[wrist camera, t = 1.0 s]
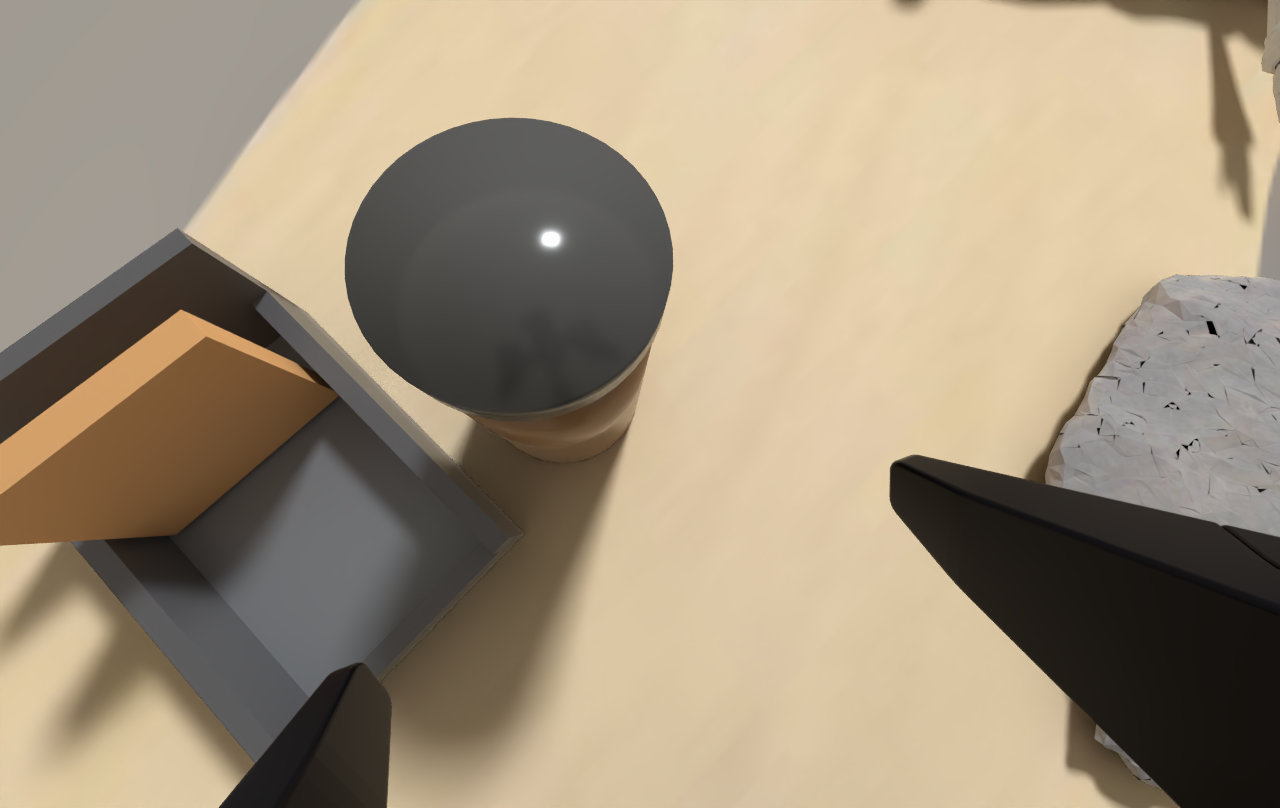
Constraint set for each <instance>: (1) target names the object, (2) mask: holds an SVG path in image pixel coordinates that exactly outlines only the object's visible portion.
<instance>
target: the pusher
mask: <svg viewBox="0 0 1280 808" xmlns="http://www.w3.org/2000/svg"><path fill="white" fill-rule="evenodd" d="M338 396H339V395H338V394H337V393H336V392H335V391H334V389H333V388H332V387H331V386H330V385H329V384H328V383H327V382H326V381H325V380H324V379H323V378H322V377H321V376H320V375H319V374H318V373H317V372H315V371H312V370H310V369H308V368H306V367H304V366H302V365H299V364H297V363H295V362H293V361H291V360H289V359H287V358H284V357H282V356H280V355H278V354H276V353H274V352H271V351H269V350H267V349H265V348H263V347H261V346H259V345H256V344H254V343H252V342H250V341H248V340H246V339H243V338H241V337H239V336H237V335H235V334H233V333H231V332H228V331H226V330H224V329H222V328H220V327H218V326H215V325H213V324H211V323H209V322H207V321H205V320H203V319H200V318H198V317H196V316H194V315H192V314H190V313H188V312H185V311H183V310H180V311H178V312H177V313H176V314H174V315H173V316H172V317H170V318H169V319H168V320H166V321H165V322H164V323H162V324H161V325H160V326H158V327H157V328H156V329H154V330H153V331H152V332H150V333H149V334H147V335H146V336H145V337H143V338H142V339H141V340H139V341H138V342H137V343H135V344H134V345H133V346H131V347H130V348H129V349H127V350H126V351H125V352H123V353H122V354H121V355H119V356H118V357H117V358H115V359H114V360H113V361H111V362H110V363H109V364H107V365H106V366H105V367H103V368H102V369H101V370H99V371H98V372H97V373H95V374H94V375H93V376H91V377H90V378H89V379H87V380H86V381H84V382H83V383H82V384H80V385H79V386H78V387H76V388H75V389H74V390H72V391H71V392H70V393H68V394H67V395H66V396H64V397H63V398H62V399H60V400H59V401H58V402H56V403H55V404H54V405H52V406H51V407H50V408H48V409H47V410H46V411H44V412H43V413H42V414H40V415H39V416H38V417H36V418H35V419H34V420H32V421H31V422H30V423H28V424H27V425H25V426H24V427H23V428H21V429H20V430H19V431H17V432H16V433H15V434H13V435H12V436H11V437H9V438H8V439H7V440H5V441H4V442H3V443H1V444H0V546H2V545H18V544H35V543H52V542H69V541H85V540H102V539H119V538H136V537H152V536H169V535H177V534H178V533H179V532H180V531H181V530H183V529H184V528H185V527H186V526H187V525H188V524H190V523H191V522H192V521H193V520H194V519H195V518H197V517H198V516H199V515H200V514H201V513H202V512H204V511H205V510H206V509H207V508H208V507H209V506H211V505H212V504H213V503H214V502H215V501H217V500H218V499H219V498H220V497H221V496H222V495H224V494H225V493H226V492H227V491H228V490H229V489H231V488H232V487H233V486H234V485H235V484H236V483H238V482H239V481H240V480H241V479H242V478H243V477H245V476H246V475H247V474H248V473H249V472H250V471H252V470H253V469H254V468H255V467H256V466H257V465H259V464H260V463H261V462H262V461H263V460H264V459H266V458H267V457H268V456H269V455H270V454H272V453H273V452H274V451H275V450H276V449H277V448H279V447H280V446H281V445H282V444H283V443H284V442H286V441H287V440H288V439H289V438H290V437H291V436H293V435H294V434H295V433H296V432H297V431H298V430H300V429H301V428H302V427H303V426H304V425H305V424H307V423H308V422H309V421H310V420H311V419H312V418H314V417H315V416H316V415H317V414H318V413H319V412H321V411H322V410H323V409H324V408H325V407H327V406H328V405H329V404H330V403H331V402H332V401H334V400H335V399H336V398H337V397H338Z"/></svg>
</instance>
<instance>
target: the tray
mask: <svg viewBox="0 0 1280 808" xmlns="http://www.w3.org/2000/svg"><path fill="white" fill-rule="evenodd" d="M180 310H183V311H185V312H188V313H190V314H192V315H194V316H196V317H198V318H200V319H203V320H205V321H207V322H209V323H211V324H213V325H215V326H218V327H220V328H222V329H224V330H226V331H228V332H231V333H233V334H235V335H237V336H239V337H241V338H243V339H246V340H248V341H250V342H252V343H254V344H256V345H259V346H261V347H263V348H265V349H267V350H269V351H271V352H274V353H276V354H278V355H280V356H282V357H284V358H287V359H289V360H291V361H293V362H295V363H297V364H299V365H302V366H304V367H306V368H308V369H310V370H312V371H315V372H317V373H318V374H319V375H320V376H321V377H322V378H323V379H324V380H325V381H326V382H327V383H328V384H329V385H330V386H331V387H332V388H333V389H334V391H335V392H336V393H337V394H338V395H339V396H338V397H337V398H336V399H335V400H334V401H332V402H331V403H330V404H329V405H328V406H327V407H325V408H324V409H323V410H322V411H321V412H319V413H318V414H317V415H316V416H315V417H314V418H312V419H311V420H310V421H309V422H308V423H307V424H305V425H304V426H303V427H302V428H301V429H300V430H298V431H297V432H296V433H295V434H294V435H293V436H291V437H290V438H289V439H288V440H287V441H286V442H284V443H283V444H282V445H281V446H280V447H279V448H277V449H276V450H275V451H274V452H273V453H272V454H270V455H269V456H268V457H267V458H266V459H264V460H263V461H262V462H261V463H260V464H259V465H257V466H256V467H255V468H254V469H253V470H252V471H250V472H249V473H248V474H247V475H246V476H245V477H243V478H242V479H241V480H240V481H239V482H238V483H236V484H235V485H234V486H233V487H232V488H231V489H229V490H228V491H227V492H226V493H225V494H224V495H222V496H221V497H220V498H219V499H218V500H217V501H215V502H214V503H213V504H212V505H211V506H209V507H208V508H207V509H206V510H205V511H204V512H202V513H201V514H200V515H199V516H198V517H197V518H195V519H194V520H193V521H192V522H191V523H190V524H188V525H187V526H186V527H185V528H184V529H183V530H181V531H180V532H179V533H178V534H177V535H169V536H152V537H136V538H119V539H102V540H85V541H70V542H71V543H72V544H73V545H74V547H75V548H76V549H77V550H78V551H79V553H80V554H81V555H82V556H83V557H84V559H85V560H86V561H87V562H88V563H89V565H90V566H91V567H92V568H93V569H94V571H95V572H96V573H97V574H98V575H99V577H100V578H101V579H102V580H103V581H104V583H105V584H106V585H107V586H108V587H109V589H110V590H111V591H112V592H113V593H114V595H115V596H116V597H117V598H118V599H119V601H120V602H121V603H122V604H123V605H124V607H125V608H126V609H127V610H128V611H129V612H130V614H131V615H132V616H133V617H134V618H135V620H136V621H137V622H138V623H139V624H140V626H141V627H142V628H143V629H144V630H145V632H146V633H147V634H148V635H149V636H150V638H151V639H152V640H153V641H154V642H155V644H156V645H157V646H158V647H159V648H160V650H161V651H162V652H163V653H164V654H165V656H166V657H167V658H168V659H169V660H170V662H171V663H172V664H173V665H174V666H175V668H176V669H177V670H178V671H179V672H180V674H181V675H182V676H183V677H184V678H185V680H186V681H187V682H188V683H189V684H190V686H191V687H192V688H193V689H194V690H195V692H196V693H197V694H198V695H199V696H200V698H201V699H202V700H203V701H204V702H205V704H206V705H207V706H208V707H209V708H210V710H211V711H212V712H213V713H214V714H215V716H216V717H217V718H218V719H219V720H220V722H221V723H222V724H223V725H224V726H225V727H226V729H227V730H228V731H229V732H230V733H231V735H232V736H233V737H234V738H235V739H236V741H237V742H238V743H239V744H240V745H241V747H242V748H243V749H244V750H245V751H246V753H247V754H248V755H249V756H250V757H251V759H252V760H253V761H254V762H255V763H256V762H257V761H258V759H259V758H260V757H261V756H262V755H263V753H264V752H265V751H266V750H267V748H268V747H269V746H270V745H271V744H272V742H273V741H274V740H275V739H276V738H277V736H278V735H279V734H280V733H281V731H282V730H283V729H284V728H285V727H286V725H287V724H288V723H289V722H290V721H291V719H292V718H293V717H294V716H295V715H296V713H297V712H298V711H299V710H300V708H301V707H302V706H303V705H304V704H305V702H306V701H307V700H308V699H309V698H310V696H311V695H312V694H313V693H314V691H315V690H316V689H317V688H318V687H319V685H320V684H321V683H322V682H323V681H324V679H325V678H326V677H327V676H328V675H329V674H330V673H332V672H333V671H335V670H338V669H340V668H343V667H346V666H348V665H351V664H354V663H358V662H361V663H364V664H366V665H367V666H368V668H369V669H370V670H371V671H372V673H373V674H374V675H375V676H376V678H377V679H378V680H379V682H381V681H382V680H383V679H384V678H385V677H386V676H387V674H388V673H389V672H390V671H391V670H392V669H393V668H394V667H395V666H396V665H397V664H398V663H399V662H400V661H401V660H402V659H403V658H404V657H405V656H406V655H407V654H408V653H409V652H410V651H411V650H412V649H413V648H414V647H415V646H416V645H417V644H418V643H419V642H420V641H421V639H422V638H423V637H424V636H425V635H426V634H427V633H428V632H429V631H430V630H431V629H432V628H433V627H434V626H435V625H436V624H437V623H438V622H439V621H440V620H441V619H442V618H443V617H444V616H445V615H446V614H447V613H448V612H449V611H450V610H451V609H452V608H453V607H454V606H455V605H456V603H457V602H458V601H459V600H460V599H461V598H462V597H463V596H464V595H465V594H466V593H467V592H468V591H469V590H470V589H471V588H472V587H473V586H474V585H475V584H476V583H477V582H478V581H479V580H480V579H481V578H482V577H483V576H484V575H485V574H486V573H487V572H488V571H489V570H490V568H491V567H492V566H493V565H494V564H495V563H496V562H497V561H498V560H499V559H500V558H501V557H502V556H503V555H504V554H505V553H506V552H507V551H508V550H509V549H510V548H511V547H512V546H513V545H514V544H515V543H516V542H517V541H518V540H519V539H520V538H521V537H522V536H523V535H524V532H523V531H522V530H521V529H520V528H519V527H518V526H517V525H516V524H515V523H514V522H513V521H512V520H511V519H510V518H509V517H508V516H507V515H506V514H505V513H504V512H503V511H502V510H501V509H500V508H499V507H498V506H497V505H496V504H495V503H494V502H493V501H492V500H491V499H490V498H489V497H488V496H487V495H486V494H485V492H484V491H483V490H482V489H481V488H480V487H479V486H478V485H477V484H476V483H475V482H474V481H473V480H472V479H471V478H470V477H469V476H468V475H467V474H466V473H465V472H464V471H463V470H462V469H461V468H460V467H459V466H458V465H457V464H456V463H455V462H454V461H453V460H452V459H451V458H450V457H449V456H448V455H447V454H446V453H445V452H444V451H443V450H442V449H441V448H440V447H439V446H438V445H437V444H436V443H435V442H434V441H433V440H432V439H431V438H430V437H429V436H428V435H427V434H426V433H425V432H424V431H423V430H422V429H421V428H420V427H419V426H418V425H417V424H416V423H415V421H414V420H413V419H412V418H411V417H410V416H409V415H408V414H407V413H406V412H405V411H404V410H403V409H402V408H401V407H400V406H399V405H398V404H397V403H396V402H395V401H394V400H393V399H392V398H391V397H390V396H389V395H388V394H387V393H386V392H385V391H384V390H383V389H382V388H381V387H380V386H379V385H378V384H377V383H376V382H375V381H374V380H373V379H372V378H371V377H370V376H369V375H368V374H367V373H366V372H365V371H364V370H363V369H362V368H361V367H360V366H359V365H358V364H357V363H356V362H355V361H354V360H353V359H352V358H351V357H350V356H349V355H348V354H347V353H346V352H345V351H344V349H343V348H342V347H341V346H340V345H339V344H338V343H337V342H336V341H335V340H334V339H333V338H332V337H331V336H330V335H329V334H328V333H327V332H326V331H325V330H324V329H323V328H322V327H321V326H320V325H319V324H318V323H317V322H316V321H315V320H314V319H313V318H312V317H311V316H310V315H309V314H308V313H307V312H306V311H304V310H303V309H301V308H300V307H298V306H297V305H295V304H294V303H292V302H291V301H289V300H287V299H286V298H284V297H283V296H281V295H280V294H278V293H277V292H275V291H274V290H272V289H271V288H269V287H267V286H266V285H264V284H263V283H261V282H260V281H258V280H257V279H255V278H254V277H252V276H250V275H249V274H247V273H246V272H244V271H243V270H241V269H240V268H238V267H237V266H235V265H234V264H232V263H230V262H229V261H227V260H226V259H224V258H223V257H221V256H220V255H218V254H217V253H215V252H213V251H212V250H210V249H209V248H207V247H206V246H204V245H203V244H201V243H200V242H198V241H196V240H195V239H193V238H192V237H190V236H189V235H187V234H186V233H184V232H183V231H181V230H179V229H178V228H177V229H175V230H174V231H173V232H171V233H170V234H168V235H167V236H166V237H164V238H163V239H161V240H160V241H158V242H157V243H156V244H154V245H153V246H151V247H150V248H149V249H147V250H146V251H144V252H143V253H141V254H140V255H139V256H137V257H136V258H134V259H133V260H131V261H130V262H129V263H127V264H126V265H124V266H123V267H122V268H120V269H119V270H117V271H116V272H114V273H113V274H112V275H110V276H109V277H107V278H106V279H104V280H103V281H102V282H100V283H99V284H97V285H96V286H95V287H93V288H92V289H90V290H89V291H88V292H86V293H85V294H83V295H82V296H81V297H79V298H78V299H76V300H75V301H73V302H72V303H70V304H69V305H68V306H66V307H65V308H63V309H62V310H61V311H59V312H58V313H56V314H55V315H54V316H52V317H51V318H49V319H48V320H46V321H45V322H43V323H42V324H41V325H39V326H38V327H36V328H35V329H34V330H32V331H31V332H30V333H28V334H27V335H25V336H24V337H22V338H21V339H19V340H18V341H17V342H15V343H14V344H12V345H11V346H9V347H8V348H7V349H5V350H4V351H2V352H1V353H0V444H1V443H3V442H4V441H5V440H7V439H8V438H9V437H11V436H12V435H13V434H15V433H16V432H17V431H19V430H20V429H21V428H23V427H24V426H25V425H27V424H28V423H30V422H31V421H32V420H34V419H35V418H36V417H38V416H39V415H40V414H42V413H43V412H44V411H46V410H47V409H48V408H50V407H51V406H52V405H54V404H55V403H56V402H58V401H59V400H60V399H62V398H63V397H64V396H66V395H67V394H68V393H70V392H71V391H72V390H74V389H75V388H76V387H78V386H79V385H80V384H82V383H83V382H84V381H86V380H87V379H89V378H90V377H91V376H93V375H94V374H95V373H97V372H98V371H99V370H101V369H102V368H103V367H105V366H106V365H107V364H109V363H110V362H111V361H113V360H114V359H115V358H117V357H118V356H119V355H121V354H122V353H123V352H125V351H126V350H127V349H129V348H130V347H131V346H133V345H134V344H135V343H137V342H138V341H139V340H141V339H142V338H143V337H145V336H146V335H147V334H149V333H150V332H152V331H153V330H154V329H156V328H157V327H158V326H160V325H161V324H162V323H164V322H165V321H166V320H168V319H169V318H170V317H172V316H173V315H174V314H176V313H177V312H178V311H180Z"/></svg>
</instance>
